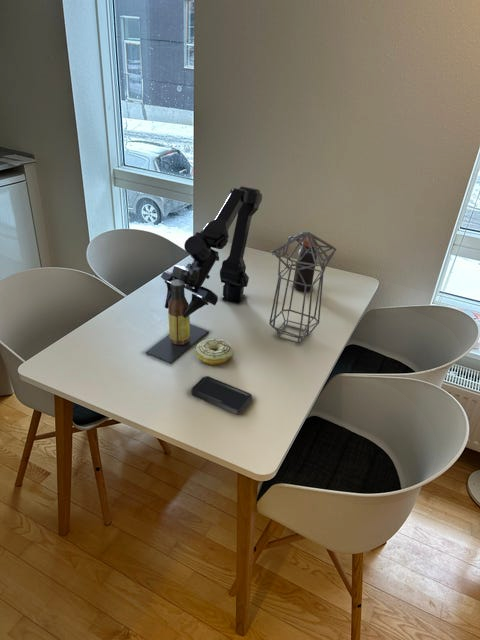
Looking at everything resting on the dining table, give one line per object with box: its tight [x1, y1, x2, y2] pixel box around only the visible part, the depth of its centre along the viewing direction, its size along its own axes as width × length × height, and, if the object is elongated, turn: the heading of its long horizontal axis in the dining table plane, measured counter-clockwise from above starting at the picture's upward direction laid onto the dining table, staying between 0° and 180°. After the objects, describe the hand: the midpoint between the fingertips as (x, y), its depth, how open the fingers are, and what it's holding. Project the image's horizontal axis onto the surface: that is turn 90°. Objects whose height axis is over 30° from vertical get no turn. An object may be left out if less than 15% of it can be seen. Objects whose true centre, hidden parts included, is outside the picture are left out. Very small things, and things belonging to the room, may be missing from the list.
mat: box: [145, 323, 209, 364], centre depth 146 cm, size 20×9×1 cm, turn 150°
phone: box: [190, 375, 253, 415], centre depth 125 cm, size 8×1×15 cm
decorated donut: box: [195, 338, 234, 366], centre depth 140 cm, size 10×11×4 cm
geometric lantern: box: [268, 231, 337, 344], centre depth 144 cm, size 16×16×35 cm
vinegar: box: [294, 238, 318, 293], centre depth 176 cm, size 7×7×20 cm
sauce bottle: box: [167, 280, 191, 345], centre depth 141 cm, size 6×6×20 cm
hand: (174, 312), depth 139 cm, fingers open, 7 cm apart
